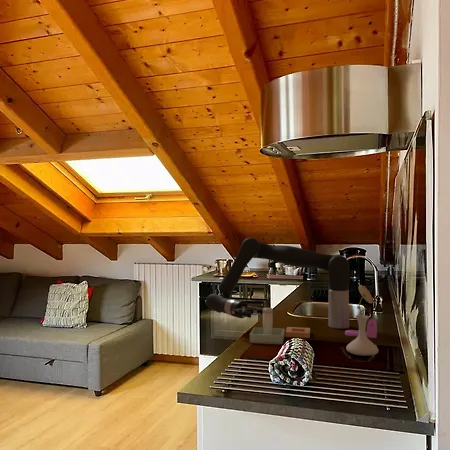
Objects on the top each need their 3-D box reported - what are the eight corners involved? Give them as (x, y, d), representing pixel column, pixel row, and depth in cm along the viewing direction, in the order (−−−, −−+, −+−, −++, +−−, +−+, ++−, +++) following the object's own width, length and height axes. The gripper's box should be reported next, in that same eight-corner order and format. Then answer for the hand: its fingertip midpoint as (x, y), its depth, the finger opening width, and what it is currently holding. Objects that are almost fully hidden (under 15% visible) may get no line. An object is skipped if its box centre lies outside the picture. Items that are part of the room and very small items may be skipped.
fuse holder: (310, 332, 200) (310, 328, 200) (309, 337, 190) (309, 333, 190) (287, 331, 202) (287, 327, 202) (285, 336, 192) (285, 331, 192)
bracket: (376, 335, 196) (376, 319, 196) (376, 338, 190) (376, 321, 190) (345, 332, 200) (345, 317, 200) (344, 335, 195) (344, 319, 195)
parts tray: (284, 336, 191) (284, 328, 191) (282, 344, 179) (282, 335, 179) (253, 335, 194) (253, 327, 194) (249, 342, 181) (249, 334, 181)
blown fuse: (273, 336, 188) (273, 307, 188) (272, 339, 184) (272, 309, 184) (262, 336, 189) (263, 307, 189) (261, 338, 185) (262, 309, 185)
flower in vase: (380, 359, 159) (380, 288, 159) (347, 357, 161) (347, 287, 162) (375, 349, 172) (376, 283, 172) (344, 347, 174) (345, 282, 174)
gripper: (223, 301, 201) (245, 306, 187) (249, 298, 209) (271, 303, 195) (223, 318, 200) (245, 325, 187) (248, 315, 208) (271, 321, 195)
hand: (258, 314), depth 191 cm, fingers open, 8 cm apart
